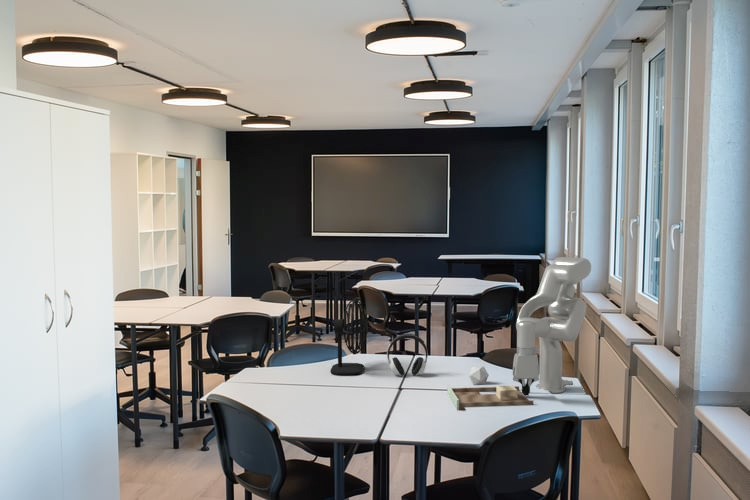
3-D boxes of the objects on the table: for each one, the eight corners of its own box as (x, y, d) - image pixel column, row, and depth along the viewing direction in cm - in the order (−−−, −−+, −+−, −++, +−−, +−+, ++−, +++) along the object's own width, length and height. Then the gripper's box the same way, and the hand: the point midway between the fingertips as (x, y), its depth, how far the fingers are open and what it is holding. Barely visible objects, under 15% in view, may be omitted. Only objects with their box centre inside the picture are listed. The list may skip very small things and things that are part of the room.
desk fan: (365, 378, 327) (364, 303, 324) (327, 377, 328) (326, 303, 326) (369, 364, 354) (368, 295, 351) (334, 364, 355) (334, 295, 353)
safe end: (449, 394, 299) (449, 385, 299) (458, 409, 278) (458, 399, 277) (447, 394, 299) (447, 385, 299) (456, 409, 278) (456, 400, 277)
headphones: (427, 373, 336) (426, 331, 334) (428, 377, 327) (428, 335, 326) (386, 373, 335) (386, 332, 334) (387, 378, 327) (387, 335, 325)
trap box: (518, 392, 301) (518, 386, 301) (533, 407, 280) (533, 400, 280) (449, 394, 299) (449, 388, 299) (458, 409, 278) (458, 403, 277)
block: (512, 394, 294) (512, 385, 293) (517, 399, 287) (517, 390, 286) (496, 395, 293) (496, 385, 293) (500, 400, 286) (500, 390, 286)
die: (483, 389, 309) (493, 370, 312) (466, 379, 311) (476, 360, 313) (480, 390, 317) (490, 372, 320) (463, 380, 318) (474, 362, 321)
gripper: (541, 348, 293) (540, 391, 294) (506, 349, 292) (505, 392, 293) (546, 352, 286) (546, 396, 287) (510, 353, 285) (510, 397, 286)
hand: (525, 394), depth 290 cm, fingers closed
